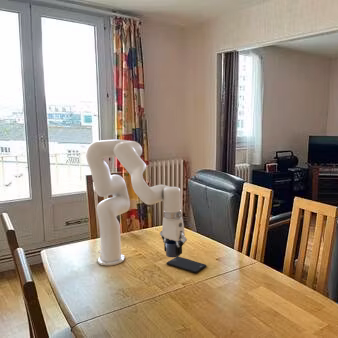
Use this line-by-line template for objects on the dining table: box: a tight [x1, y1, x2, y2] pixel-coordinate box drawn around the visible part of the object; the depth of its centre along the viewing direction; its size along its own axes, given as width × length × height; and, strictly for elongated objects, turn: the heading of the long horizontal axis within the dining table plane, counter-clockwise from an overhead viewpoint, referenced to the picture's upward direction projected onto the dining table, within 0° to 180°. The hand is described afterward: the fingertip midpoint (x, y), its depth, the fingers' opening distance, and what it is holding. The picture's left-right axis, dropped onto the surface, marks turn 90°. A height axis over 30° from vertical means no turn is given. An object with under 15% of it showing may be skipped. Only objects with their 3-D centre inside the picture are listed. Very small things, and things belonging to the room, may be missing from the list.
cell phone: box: [166, 256, 207, 274], centre depth 159 cm, size 9×18×1 cm, turn 59°
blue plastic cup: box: [165, 240, 182, 259], centre depth 148 cm, size 7×7×6 cm
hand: (173, 252), depth 149 cm, fingers closed on blue plastic cup, 6 cm apart
